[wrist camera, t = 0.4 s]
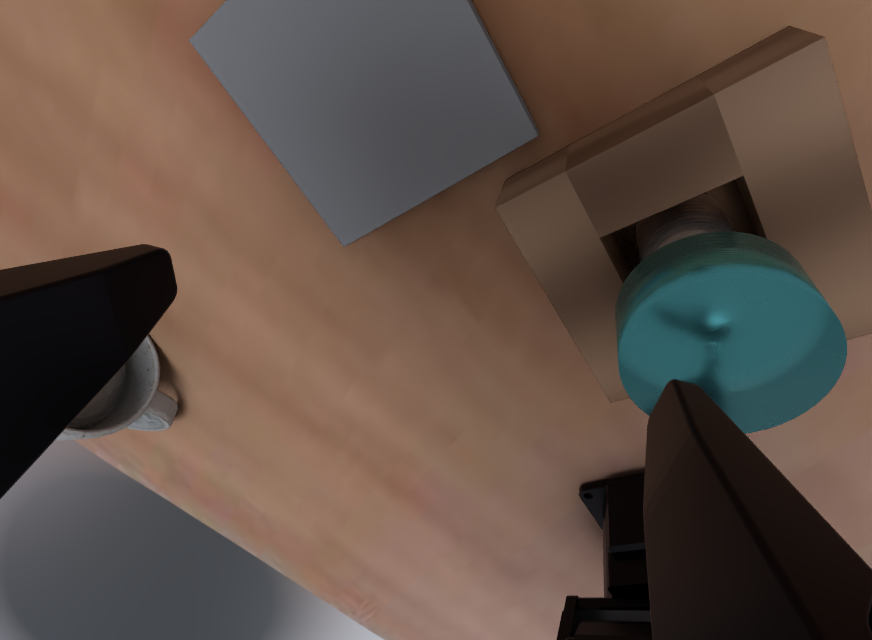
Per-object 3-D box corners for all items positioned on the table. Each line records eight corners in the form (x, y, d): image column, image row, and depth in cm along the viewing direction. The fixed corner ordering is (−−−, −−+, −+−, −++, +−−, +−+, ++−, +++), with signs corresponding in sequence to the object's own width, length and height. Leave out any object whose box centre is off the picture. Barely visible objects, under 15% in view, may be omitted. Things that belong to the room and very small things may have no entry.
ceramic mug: (28, 310, 33) (-97, 390, 27) (101, 276, 30) (-24, 360, 24) (139, 422, 38) (54, 512, 32) (214, 405, 34) (134, 502, 28)
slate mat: (539, 131, 19) (537, 136, 19) (348, 241, 24) (343, 247, 24) (387, -161, 15) (380, -165, 15) (198, 38, 20) (188, 40, 20)
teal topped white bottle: (773, 255, 20) (869, 407, 13) (639, 302, 22) (660, 451, 15) (729, 135, 18) (815, 240, 11) (588, 202, 20) (586, 322, 13)
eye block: (864, 280, 19) (902, 325, 17) (608, 359, 24) (610, 403, 22) (789, 25, 16) (824, 36, 13) (506, 179, 20) (495, 208, 18)
